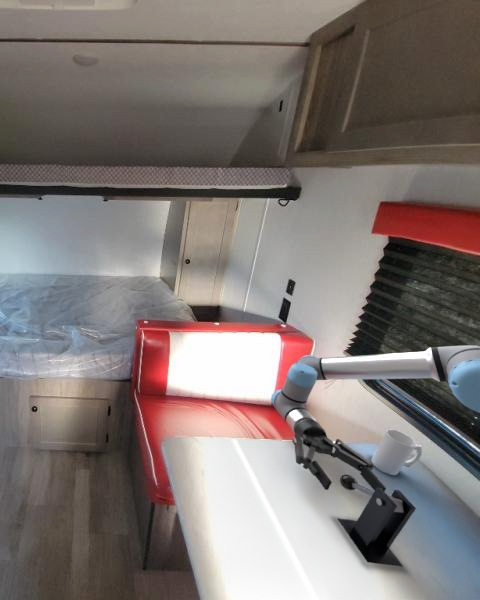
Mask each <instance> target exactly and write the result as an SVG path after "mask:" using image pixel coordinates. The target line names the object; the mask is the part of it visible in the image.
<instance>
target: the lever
mask: <svg viewBox="0 0 480 600" xmlns="http://www.w3.org/2000/svg"><path fill="white" fill-rule="evenodd" d="M339 483H340V485H341V487H342V488H344V489H345V490H347V491H356V490H357V491H359V492H362V493H364V494H366V495H368V496H370V497H372V495H373V493H374V492H375V491H374V490H371V489H369V488H367V487H365V486H363V485H361V484H358V481H357V479H356V478H355V477H354V476H352V475H351V474H342V475H341V476H340V478H339ZM387 495H388V496H389V497H390V499H391V500H392V501H393V502H394V503H395V504H396V505H397V508H396V509H395V511H394V512H402V513H403V501H402V500H400V499H397V498H395V497H393V496H391V494H387Z"/></svg>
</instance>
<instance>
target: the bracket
mask: <svg viewBox="0 0 480 600" xmlns="http://www.w3.org/2000/svg"><path fill="white" fill-rule="evenodd" d="M388 495H389V494H387V493H386V491H383V490H382V488H376V490H375V491H374V493H373V495H372V496H370V499H368V501H367V503H366V505H365V507H364V508H363V510H362V511H361V514H360V515H359V516H358V518H357V520H353V519H345V518H337V520H338V522H339V523H340V525H341V527H342V528H343V530H344V531H345V532H346V533H347V535H348V537H349V538H350V539H351V541H352V542H353V544H354V545H355V547H356V548H357V550H358V551H359V553H360V554H361V556H362V557H363V558H364V560H365V562H366V563H371V564H378V565H386V566H395V567H401V568H402V567H404V565H403V564H402V563H401V562H400V560H399V559H398V558H397V556H396V555H395V554H394V552H393V551H392V550H391V547H392V545H393V543H394V542H395V541H396V539H397V537H398V536H399V535H400V533H401V531H402V530H403V528H404V527H405V526H406V524H407V522H409V520H410V519H411V517H412V515H413V514H414V512H415V511H416V510H417V508H416V507H415V505H414V504H412V502H410V500H409V499H408V498H407V497H406V496H405V494H403V493H402V492H401V491H400V490H399V489H394V490H393V492H392V493H391V494H390V496H393V497H395V498H397V499H400V500H402V501H403V513H402V512H394V511H395V509H396V508H397V505H396V504H395V503H394V502H393V501H392V500H391V499H390V497H389V496H388Z"/></svg>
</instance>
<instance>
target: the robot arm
mask: <svg viewBox="0 0 480 600" xmlns="http://www.w3.org/2000/svg"><path fill="white" fill-rule="evenodd" d="M398 379H399V380H401V379H402V380H403V379H405V380H406V379H433V380H435V381H437V382H438V383H442V382H443V383H444V382H447V383H448V386H449V389H450V391H451V392H452V394H453V396H454V397H455V398H456V399H457V400H458V402H460V403H461V404H462V405H463V406H465V407H466V408H468V409H470V410H473V411H474V412H476V413H479V414H480V345H471V344H469V345H449V346H448V345H447V346H433V347H428V348H427V349H426V350H425V351H412V352H395V353H394V352H393V353H381V354H380V353H379V354H363V355H362V354H361V355H347V356H345V355H344V356H331V357H329V356H328V357H317V356H314V355H312V354H311V355H310V354H308V355H307V354H306V355H303V356H302V357H301V358H298V360H297V361H296V362H295V363H293V364H292V365H291V366H290V368H289V369H288V371H287V375H286V378H285V381H284V384H283V386H282V388H280V389H276V390H275V391H274V392H273V393H272V394H271V397H270V401H271V403H272V405H273V407H274V409H275V411H276V412H277V413H278V414H279V416H281V418H282V419H283V421H284V422H285V423H286V424H287V426H288V427H289V428H290V429H291V430H292V433H294V435H293V438H292V440H291V442H292V443H293V446H294V455H295V462H296V464H297V465H302V467H303V469H305V470H308V471H309V472H310V473H311V475H312V476H314V477H315V478H316V479H317V481H318V482H319V483H320V485H321V487H322V488H323V489H324V490H326V491H328V490H329V489H330V487H331V485H332V483H333V481H332V480H331V479H330V477H329V476H328V475H327V473H326V472H325V471H324V469H323V468H322V467H321V465H320V464H319V462H318V461H317V460H313V459H314V455H315V454H316V453H317V454H318V455H319V454H320V455H328V456H330V457H332V458H334V459H338V460H340V461H341V462H343V463H345V464H347V465H348V466H350V467H351V468H353V469H355V470H357V471H358V472H359V475H360V476H361V477H362V478H363V479H364V480H365V482H366V483H367V484H368V485H369V486H370V487H371V488H372V491H374V492H375V490H376V488H382V490H383V491H384V492H386V490H387V487H386V486H385V485H384V484H383V483H382V481H380V479H379V477H378V476H377V475H376V474H375V472H374V471H373V468H374V467H375V466H374V464H373V463H372V461H371V460H368V459H367V458H365V457H364V456H362V455H361V454H359V453H358V452H357V451H355V450H354V449H352V448H351V447H349V446H348V445H346V443H344V442H343V441H342V440H341V439H340V438H337V439H336V440H332V439H330V438H329V437H328V436H327V435H328V434H327V433H326V430H325V429H324V428H323V427H322V425H321V424H320V423H319V422H318V420H317V419H316V418H315V417H314V416H313V415H312V414H311V412H309V411H308V409H307V408H306V407H305V406H306V404H307V401H308V399H309V397H310V395H311V393H312V390H313V388H314V386H315V384H316V382H317V381H335V380H336V381H338V380H341V381H342V380H345V381H346V380H398ZM304 446H306V448H309V449H308V451H307V454H306V457H305V453H304V452H305V451H304ZM334 449H335V450H334Z"/></svg>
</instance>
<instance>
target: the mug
mask: <svg viewBox="0 0 480 600" xmlns="http://www.w3.org/2000/svg"><path fill="white" fill-rule="evenodd" d="M414 451H416V454H415V455H414V456H413V457H412V458H411V459H409V457H410V456H411V454H412V453H413V452H414ZM422 453H423V446H422V445H421V444H417V442H416V440H414V438H412V437H410V436H409V435H407V434H406V433H405V432H402V431H399V430H397V429H391V428H390V429H387V430H386V431H385V433H384V435H383V437H382V438H381V441H380V443H378V446H377V447H376V450H375V452H374V454H373V455H372V458H371V460H370V462H371V463H373V464H374V467H375V468H376V469H377V470H379V471H381V472H383V473H385V474H387V475H390V476H396V475H398V474H399V472H400V471H401V470H402V468H403V467H406V468H410V467H412V466H413V465H414V464H416V463H417V462H418V461H419V460H420V459H421V457H422V455H423V454H422Z"/></svg>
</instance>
